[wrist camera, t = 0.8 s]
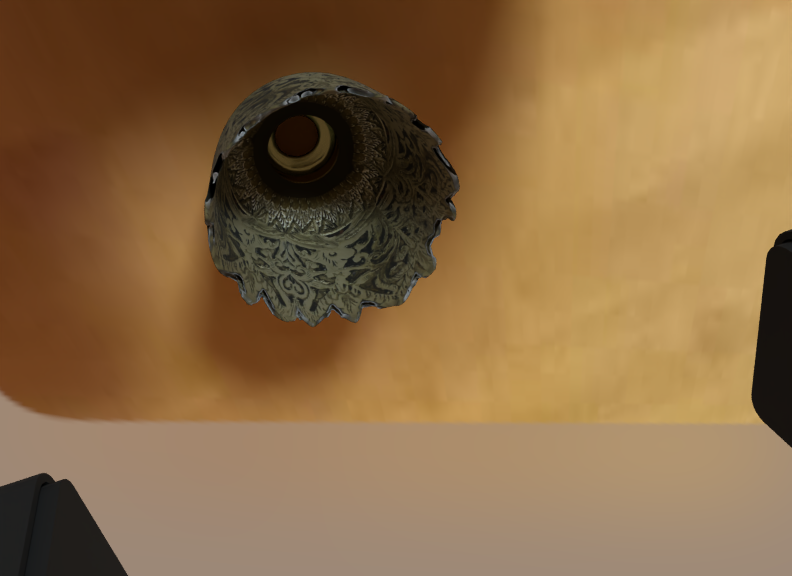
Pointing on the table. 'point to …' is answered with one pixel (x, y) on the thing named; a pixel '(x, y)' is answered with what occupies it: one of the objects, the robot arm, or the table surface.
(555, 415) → the table surface
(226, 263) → the cup
